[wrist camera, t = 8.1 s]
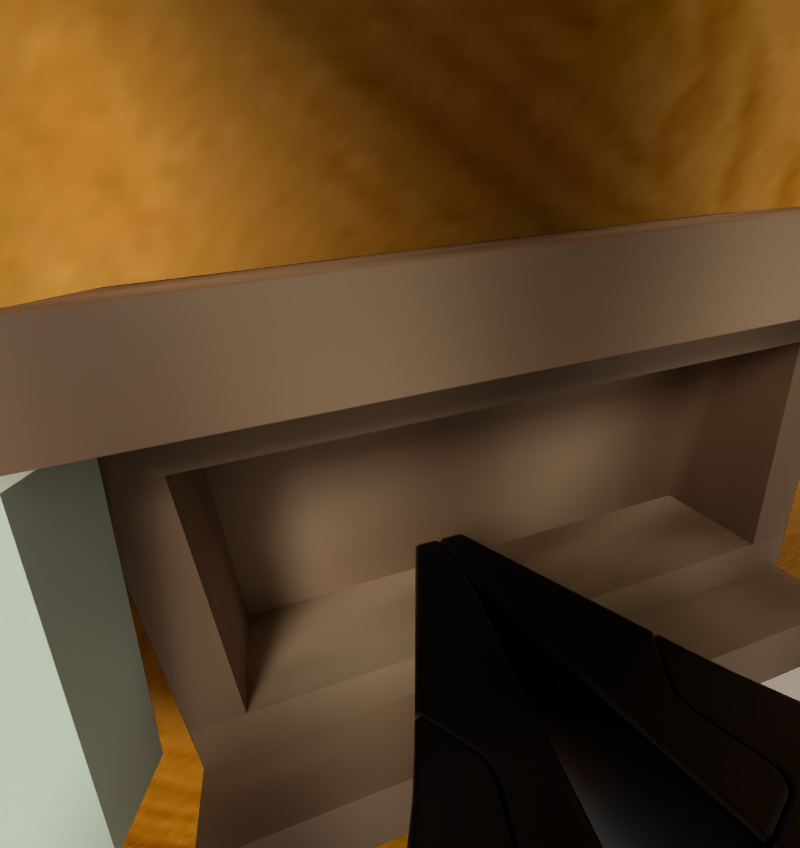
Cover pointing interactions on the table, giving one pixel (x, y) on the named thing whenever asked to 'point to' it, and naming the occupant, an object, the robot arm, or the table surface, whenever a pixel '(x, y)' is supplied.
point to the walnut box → (420, 474)
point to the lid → (68, 668)
